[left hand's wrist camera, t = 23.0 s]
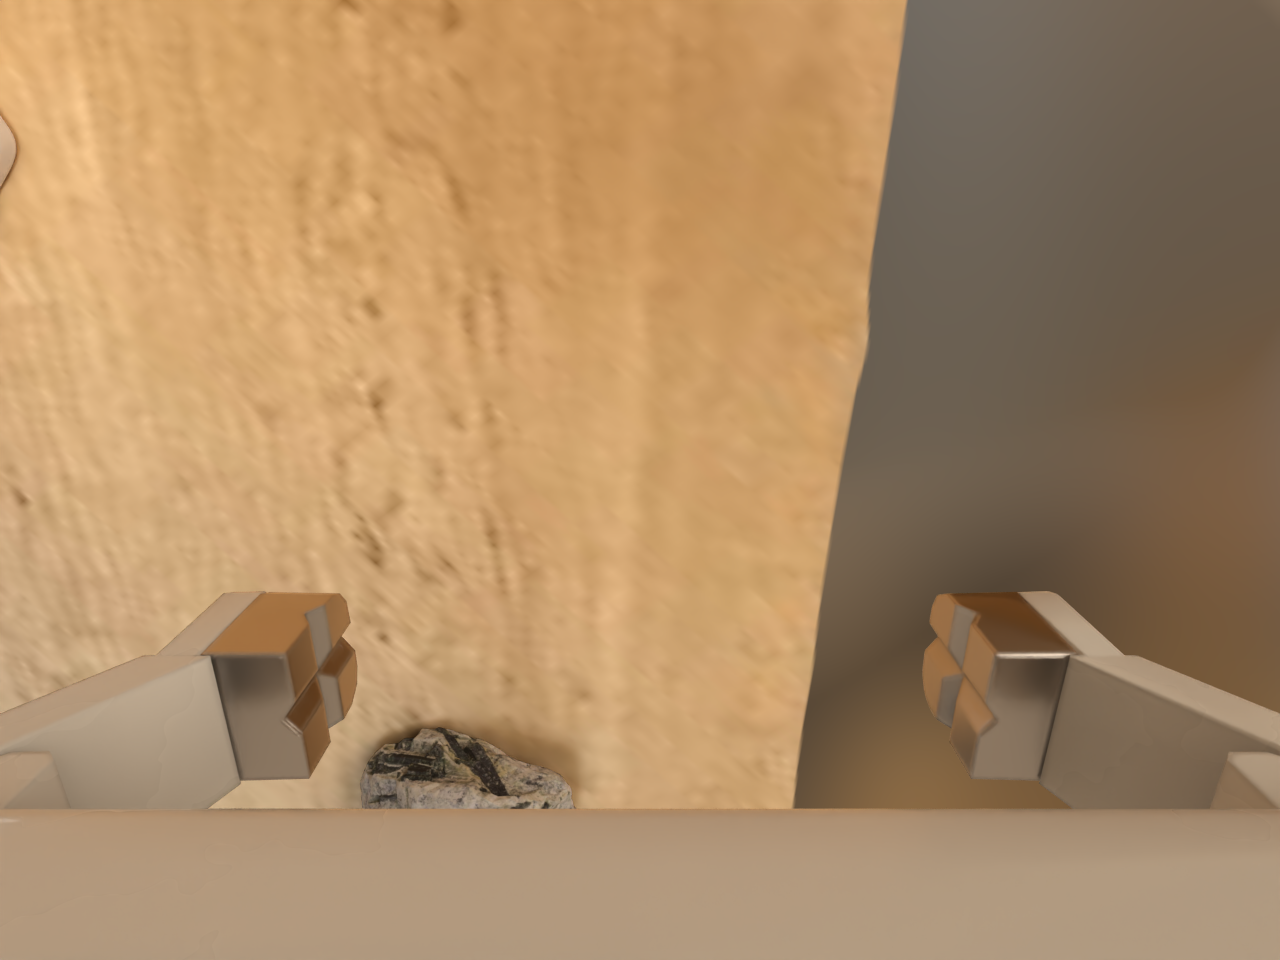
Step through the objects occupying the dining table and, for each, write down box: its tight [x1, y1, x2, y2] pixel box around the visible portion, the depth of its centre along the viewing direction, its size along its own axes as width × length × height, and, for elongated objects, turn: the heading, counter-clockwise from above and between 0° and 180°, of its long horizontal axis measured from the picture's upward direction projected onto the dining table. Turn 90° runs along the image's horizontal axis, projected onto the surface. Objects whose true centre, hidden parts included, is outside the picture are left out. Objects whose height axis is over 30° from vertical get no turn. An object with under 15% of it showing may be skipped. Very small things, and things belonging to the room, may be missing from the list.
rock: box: [360, 728, 576, 809], centre depth 49 cm, size 15×10×7 cm
